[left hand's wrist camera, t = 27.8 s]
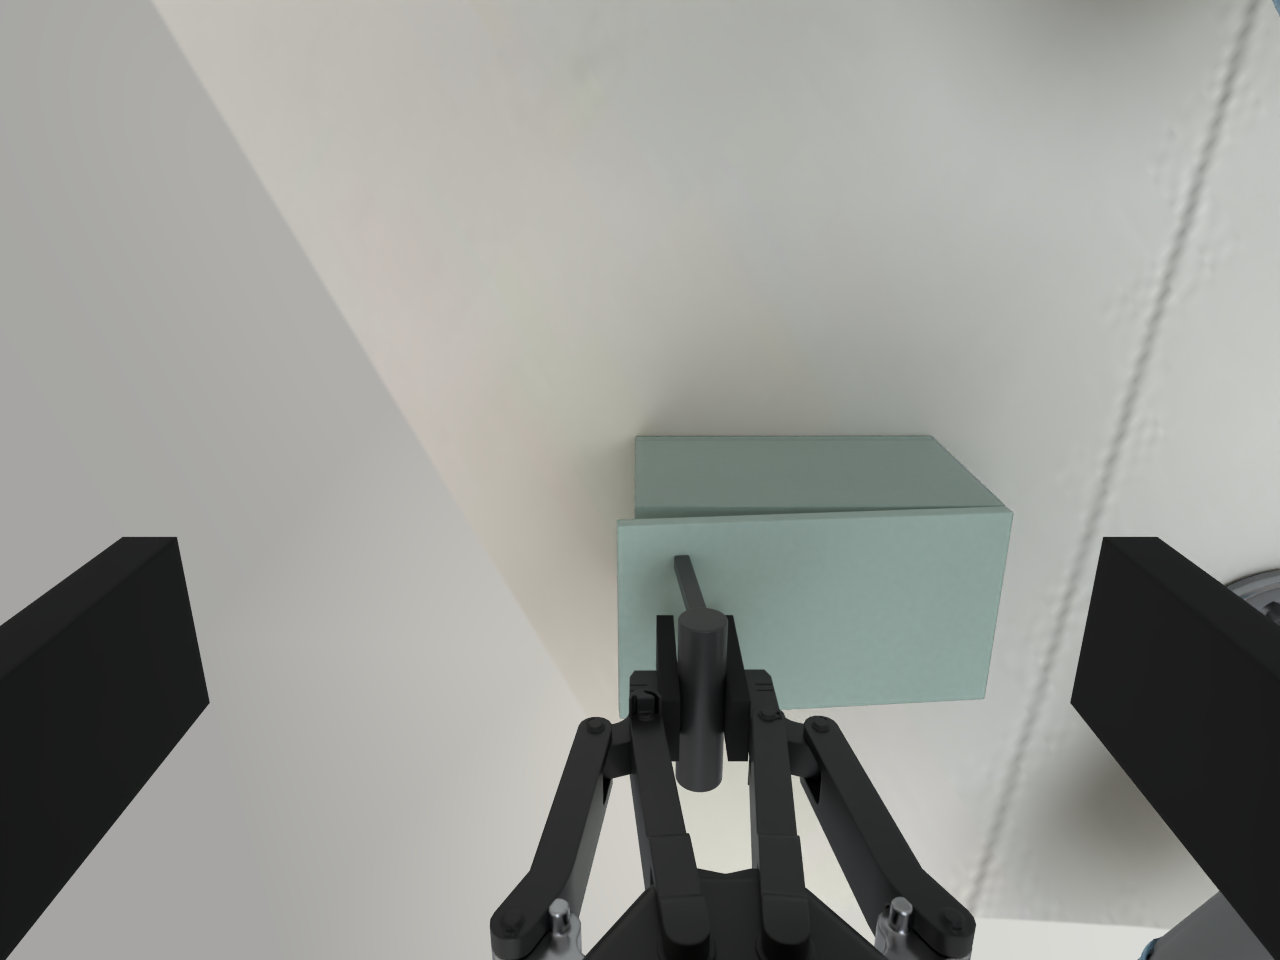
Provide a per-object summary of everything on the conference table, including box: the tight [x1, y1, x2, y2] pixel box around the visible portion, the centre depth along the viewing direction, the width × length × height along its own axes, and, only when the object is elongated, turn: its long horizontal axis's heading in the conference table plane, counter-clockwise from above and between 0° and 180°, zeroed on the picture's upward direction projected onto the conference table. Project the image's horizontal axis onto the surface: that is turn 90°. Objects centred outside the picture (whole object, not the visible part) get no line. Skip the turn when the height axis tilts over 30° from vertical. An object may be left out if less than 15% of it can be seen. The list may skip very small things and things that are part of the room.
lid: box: [617, 506, 1013, 792], centre depth 38 cm, size 18×10×8 cm, turn 90°
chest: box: [635, 436, 1005, 519], centre depth 48 cm, size 17×10×11 cm, turn 90°
